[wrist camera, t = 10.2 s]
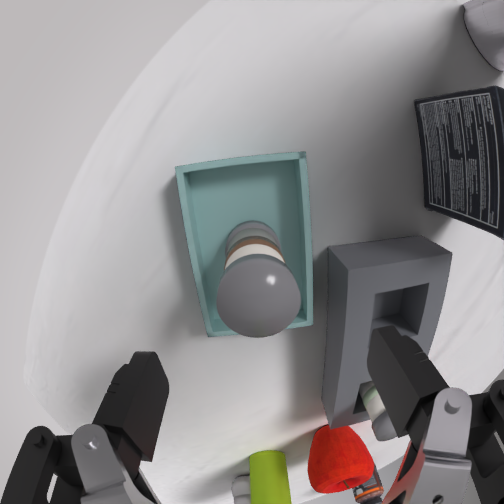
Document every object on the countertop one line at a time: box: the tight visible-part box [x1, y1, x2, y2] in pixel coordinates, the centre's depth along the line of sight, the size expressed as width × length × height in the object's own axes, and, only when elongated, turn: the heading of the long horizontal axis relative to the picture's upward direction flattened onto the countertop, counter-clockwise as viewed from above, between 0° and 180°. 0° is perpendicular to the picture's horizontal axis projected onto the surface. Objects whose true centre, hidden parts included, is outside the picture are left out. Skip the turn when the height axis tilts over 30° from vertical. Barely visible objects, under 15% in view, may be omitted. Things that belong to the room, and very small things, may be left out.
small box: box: [414, 86, 504, 240], centre depth 15 cm, size 11×6×10 cm, turn 10°
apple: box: [308, 425, 374, 494], centre depth 27 cm, size 9×9×11 cm
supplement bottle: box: [352, 464, 384, 504], centre depth 34 cm, size 6×6×11 cm
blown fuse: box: [216, 220, 301, 338], centre depth 18 cm, size 4×4×9 cm
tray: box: [175, 152, 313, 337], centre depth 21 cm, size 14×9×2 cm, turn 6°
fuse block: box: [322, 236, 452, 441], centre depth 21 cm, size 20×10×10 cm, turn 6°
